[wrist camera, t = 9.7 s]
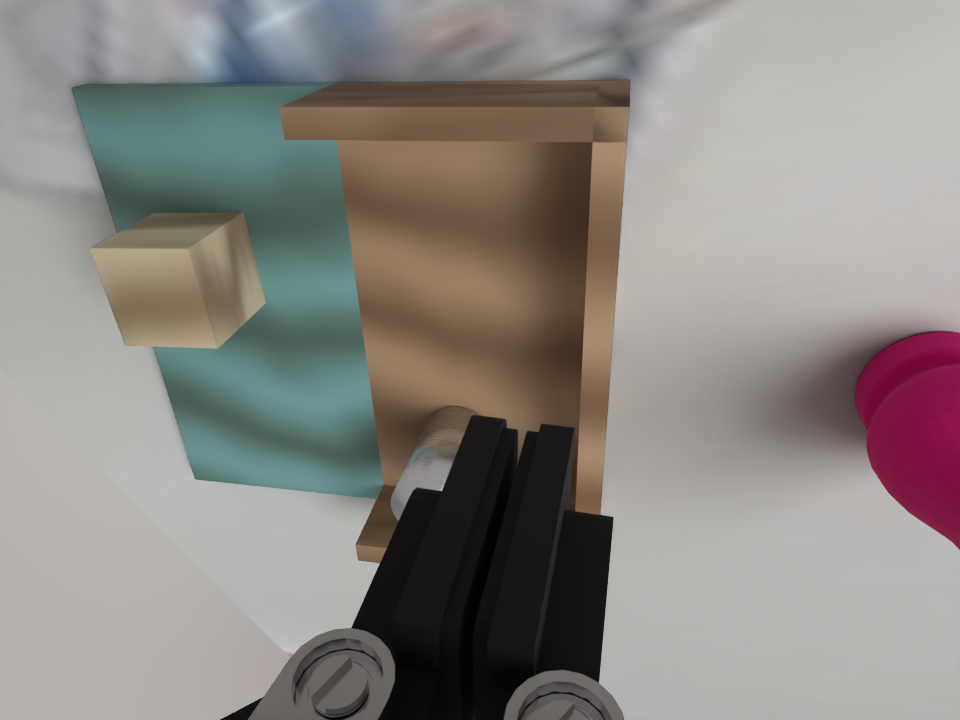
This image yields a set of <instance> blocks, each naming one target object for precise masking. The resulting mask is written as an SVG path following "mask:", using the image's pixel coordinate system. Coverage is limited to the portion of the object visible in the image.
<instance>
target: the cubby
mask: <svg viewBox="0 0 960 720" xmlns="http://www.w3.org/2000/svg"><path fill="white" fill-rule="evenodd" d="M71 89H72V92H73V95H74V98H75V101H76V105H77V108H78V111H79V114H80V117H81V120H82V124H83V127H84V130H85V133H86V136H87V139H88V142H89V146H90V149H91V152H92V155H93V158H94V161H95V165H96V168H97V171H98V174H99V177H100V180H101V184H102V187H103V190H104V193H105V196H106V199H107V202H108V206H109V209H110V212H111V215H112V218H113V221H114V225H115V228H116V231H117V233H118V232H120V231H122V230H124V229H126V228H128V227H129V226H131V225H133V224H135V223H137V222H139V221H141V220H142V219H144V218H146V217H148V216H150V215H152V214H154V213H217V212H243V213H244V217H245V221H246V225H247V229H248V234H249V238H250V242H251V246H252V250H253V254H254V258H255V262H256V266H257V270H258V274H259V278H260V282H261V286H262V290H263V294H264V298H265V302H266V303H265V304H264V305H263V306H262V307H261V308H260V309H259V310H258V311H257V312H256V313H255V314H254V315H253V316H252V317H251V318H250V319H249V320H248V321H247V322H245V323H244V324H243V325H242V326H241V327H240V328H239V329H238V330H237V331H236V332H235V333H234V334H233V335H232V336H231V337H230V338H229V339H228V340H227V341H225V342H224V343H223V344H222V345H221V346H220V347H219V348H218V349H212V348H184V347H156V346H153V348H154V351H155V354H156V357H157V360H158V364H159V367H160V370H161V373H162V376H163V379H164V382H165V386H166V389H167V392H168V395H169V398H170V401H171V405H172V408H173V411H174V414H175V417H176V420H177V424H178V427H179V430H180V433H181V436H182V439H183V442H184V446H185V449H186V452H187V455H188V458H189V461H190V465H191V468H192V471H193V474H194V477H195V479H197V480H206V481H216V482H225V483H234V484H244V485H253V486H262V487H272V488H281V489H290V490H300V491H309V492H318V493H328V494H337V495H346V496H356V497H365V498H374V499H377V500H376V502H375V504H374V507H373V509H372V511H371V513H370V515H369V517H368V519H367V521H366V524H365V526H364V528H363V530H362V532H361V534H360V536H359V538H358V541H357V543H356V550H357V556H358V560H359V561H367V562H375V563H380V562H381V560H382V558H383V555H384V553H385V551H386V549H387V546H388V544H389V542H390V540H391V537H392V535H393V533H394V531H395V528H396V526H397V524H398V522H399V521H398V520H397V519H396V517H395V516H394V514H393V511H392V508H391V497H392V494H393V492H394V490H395V488H396V486H397V484H398V482H399V479H400V477H401V475H402V473H403V471H404V469H405V467H406V465H407V463H408V461H409V459H410V457H411V455H412V452H413V450H414V448H415V446H416V444H417V442H418V440H419V438H420V436H421V434H422V432H423V430H424V427H425V425H426V423H427V421H428V419H429V418H430V416H431V415H432V414H433V413H435V412H436V411H438V410H440V409H442V408H446V407H461V408H466V409H469V410H471V411H473V412H475V413H477V414H479V415H480V416H487V417H495V418H503V419H506V421H507V428H512V429H517V430H518V461H519V458H520V454H521V450H522V447H523V443H524V439H525V436H526V432H527V431H535V432H539V429H540V426H541V424H542V423H543V424H551V425H559V426H566V427H574V428H575V441H574V454H573V467H572V481H571V494H570V507H569V510H570V511H577V512H584V513H590V514H597V515H600V511H601V497H602V483H603V469H604V456H605V442H606V428H607V414H608V400H609V386H610V372H611V358H612V344H613V330H614V316H615V302H616V289H617V275H618V261H619V247H620V233H621V219H622V205H623V191H624V177H625V163H626V149H627V135H628V122H629V108H630V80H568V81H446V82H324V83H203V84H85V85H81V86H77V87H73V88H71Z"/></svg>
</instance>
